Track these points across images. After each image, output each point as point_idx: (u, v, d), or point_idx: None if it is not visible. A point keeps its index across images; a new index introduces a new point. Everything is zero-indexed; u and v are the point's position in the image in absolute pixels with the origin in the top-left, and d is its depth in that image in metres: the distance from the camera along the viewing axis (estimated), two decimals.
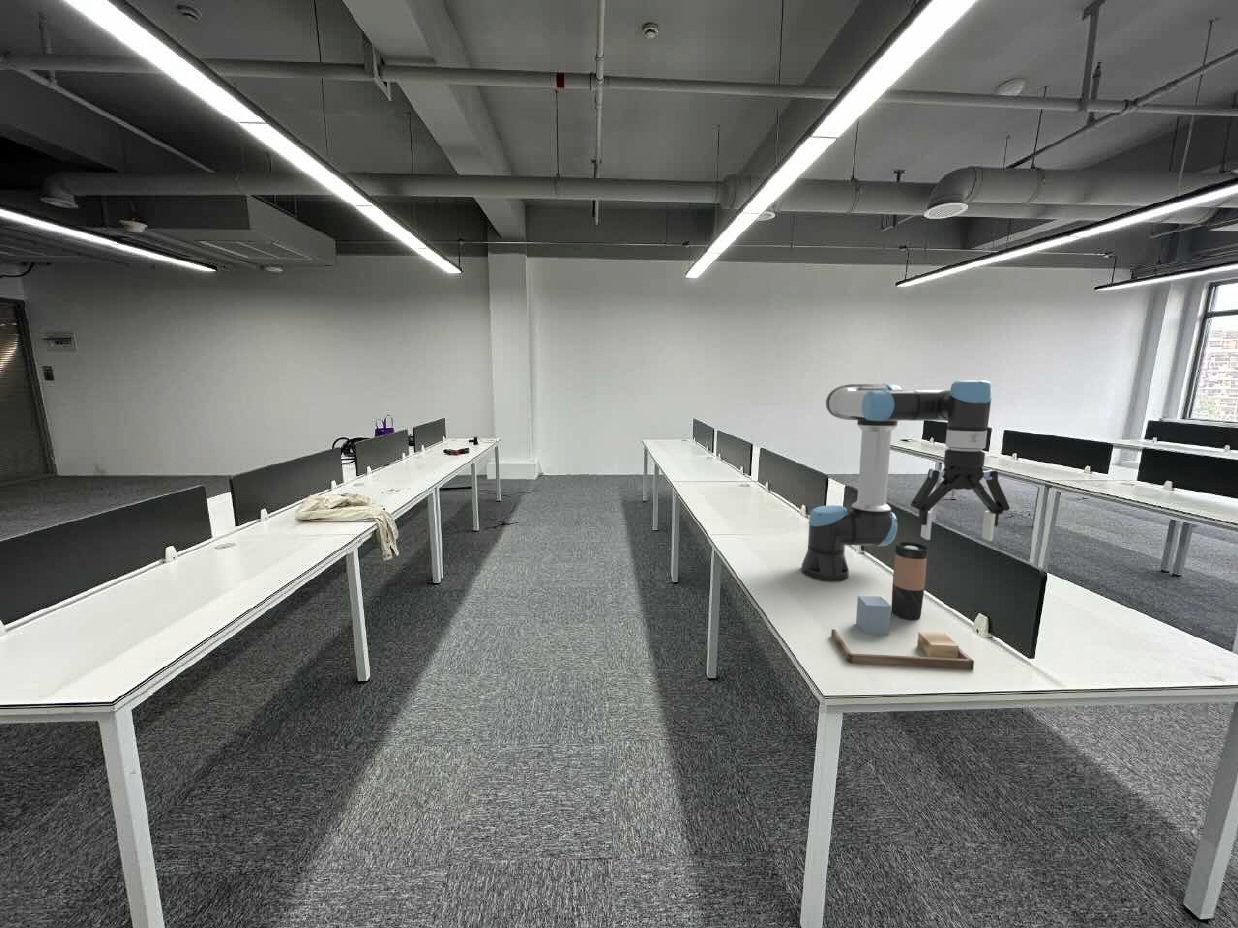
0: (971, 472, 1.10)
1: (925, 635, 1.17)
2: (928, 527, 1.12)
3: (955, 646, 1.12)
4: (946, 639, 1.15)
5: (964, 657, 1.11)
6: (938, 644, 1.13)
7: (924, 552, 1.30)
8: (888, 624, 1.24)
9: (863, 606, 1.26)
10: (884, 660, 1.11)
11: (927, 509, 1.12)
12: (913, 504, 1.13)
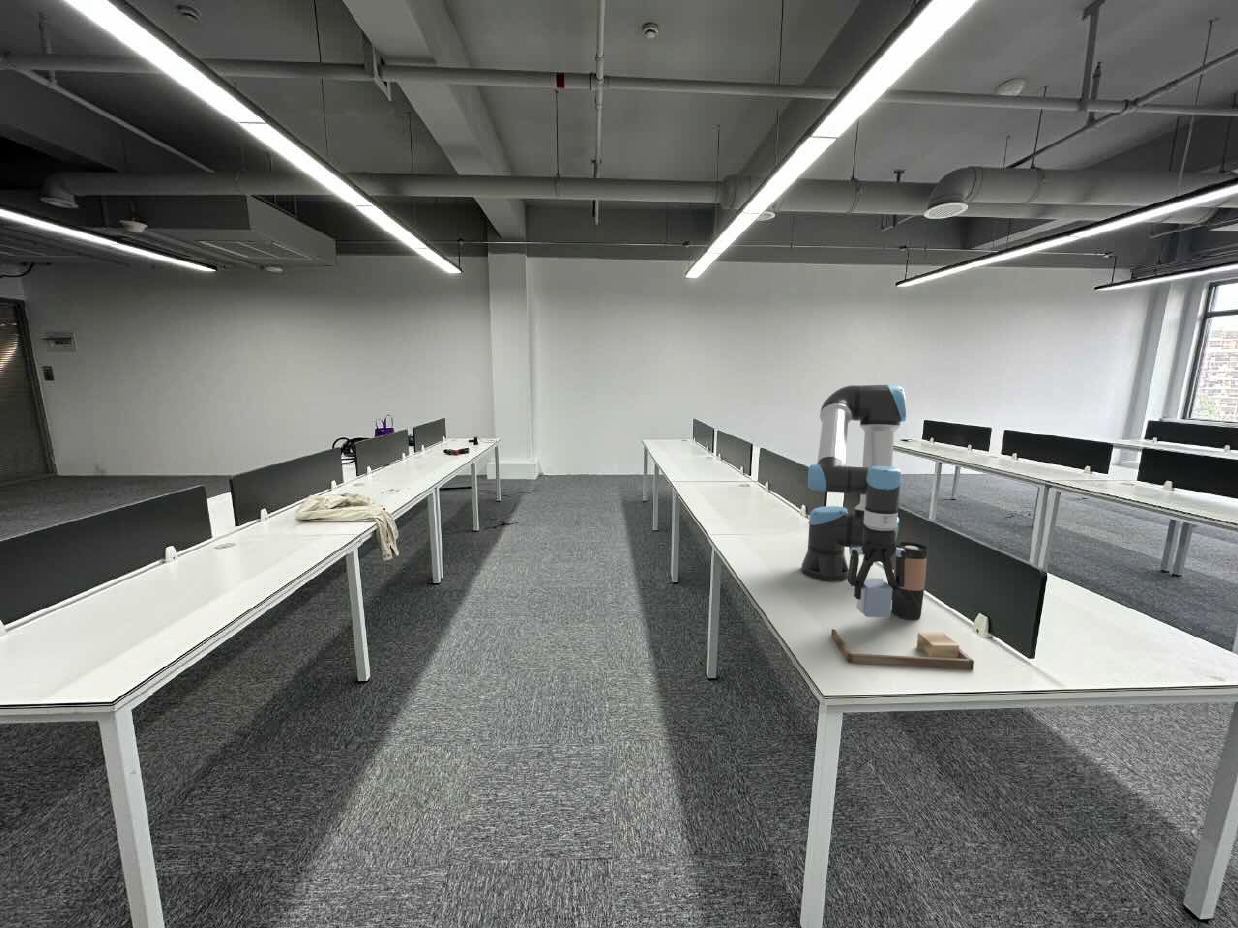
0: (886, 545, 1.23)
1: (925, 635, 1.17)
2: (861, 601, 1.26)
3: (956, 646, 1.12)
4: (946, 639, 1.15)
5: (964, 657, 1.11)
6: (939, 644, 1.13)
7: (924, 552, 1.30)
8: (889, 606, 1.24)
9: (865, 588, 1.26)
10: (884, 660, 1.11)
11: (860, 586, 1.26)
12: (848, 581, 1.27)
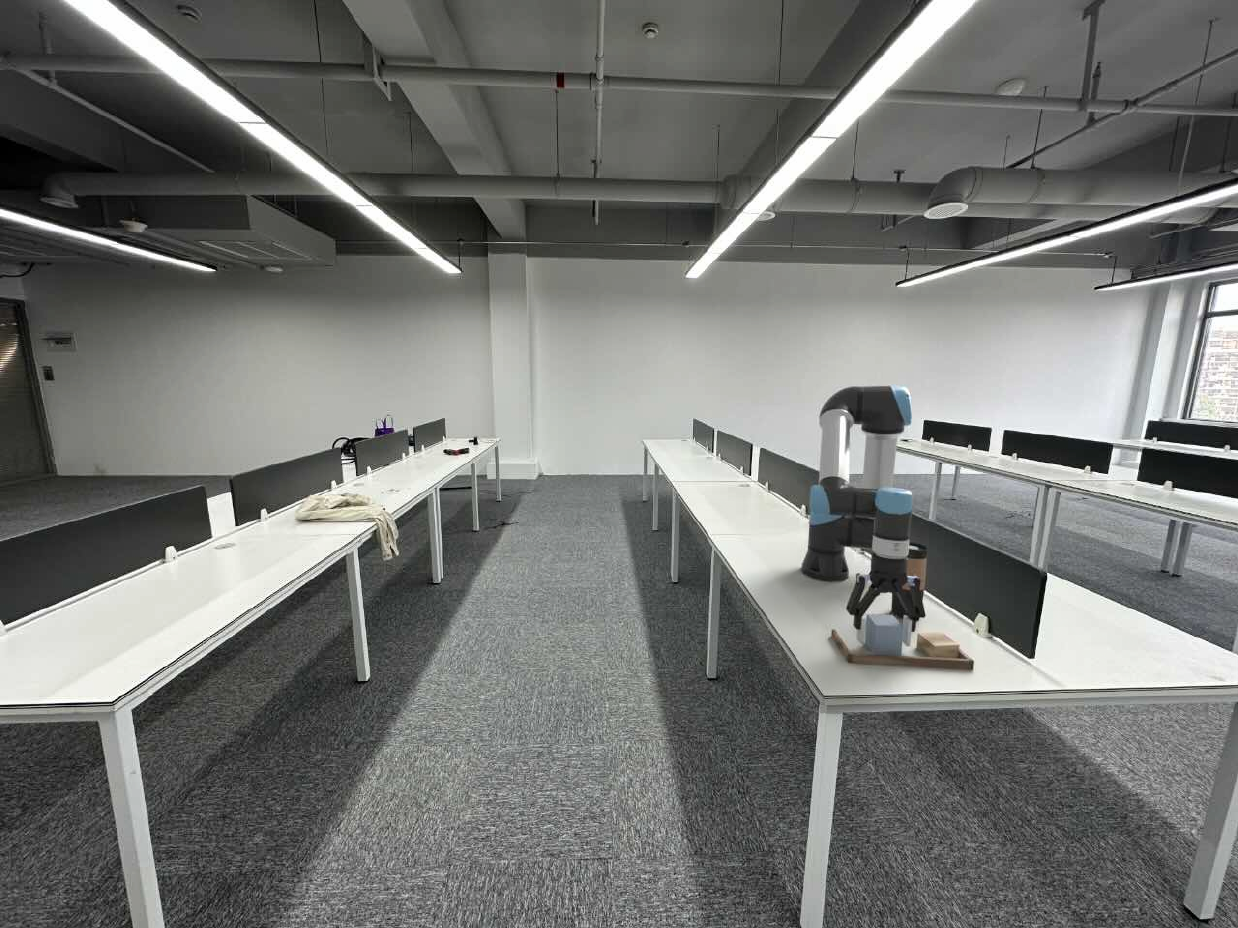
0: (896, 575, 1.13)
1: (925, 636, 1.16)
2: (862, 632, 1.16)
3: (956, 645, 1.13)
4: (945, 638, 1.15)
5: (964, 657, 1.11)
6: (941, 644, 1.13)
7: (924, 552, 1.30)
8: (900, 646, 1.14)
9: (873, 625, 1.15)
10: (884, 660, 1.11)
11: (860, 615, 1.15)
12: (847, 609, 1.17)
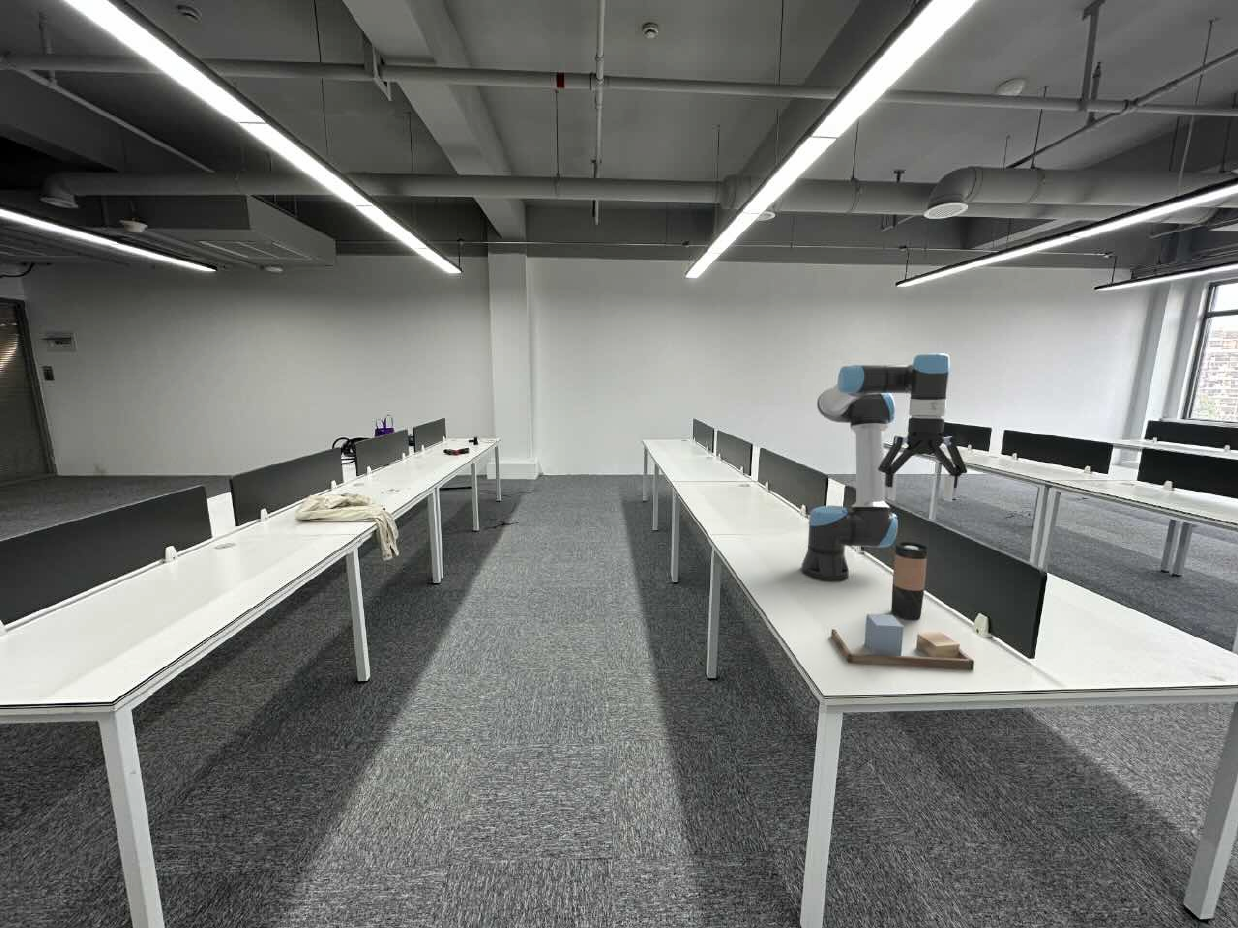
0: (932, 438, 1.20)
1: (925, 636, 1.16)
2: (893, 489, 1.23)
3: (956, 645, 1.13)
4: (945, 638, 1.15)
5: (964, 657, 1.11)
6: (942, 645, 1.13)
7: (924, 552, 1.30)
8: (900, 646, 1.14)
9: (873, 625, 1.15)
10: (884, 660, 1.11)
11: (892, 472, 1.22)
12: (880, 468, 1.24)
